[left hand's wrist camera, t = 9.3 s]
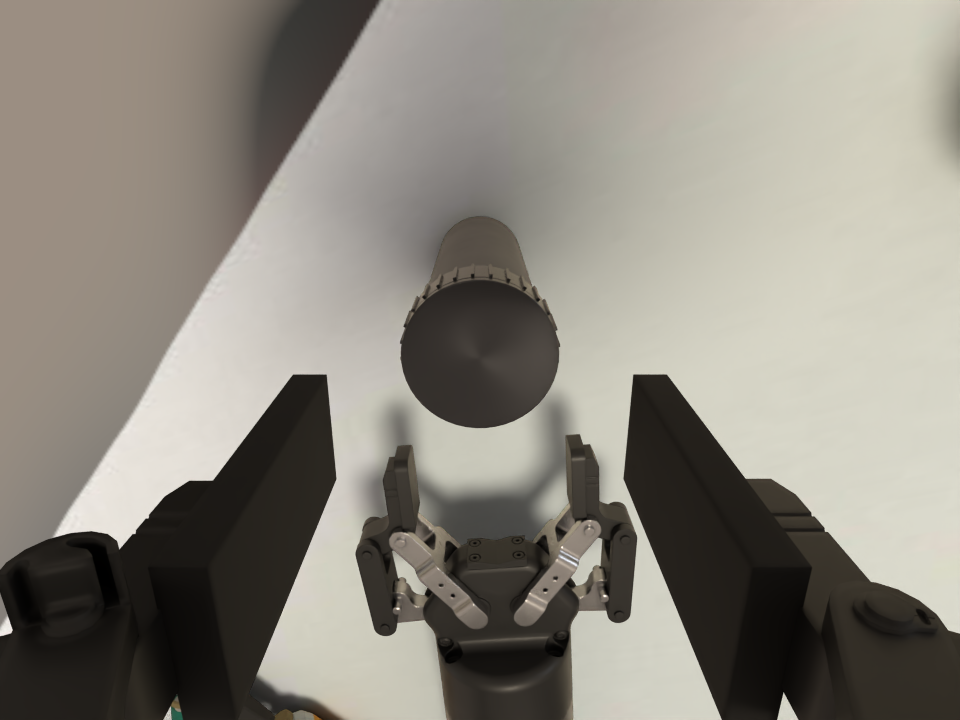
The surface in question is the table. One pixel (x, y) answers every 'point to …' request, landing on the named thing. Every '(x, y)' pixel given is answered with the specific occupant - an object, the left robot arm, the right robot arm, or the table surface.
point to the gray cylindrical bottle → (480, 248)
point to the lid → (479, 347)
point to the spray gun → (254, 712)
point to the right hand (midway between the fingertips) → (488, 447)
